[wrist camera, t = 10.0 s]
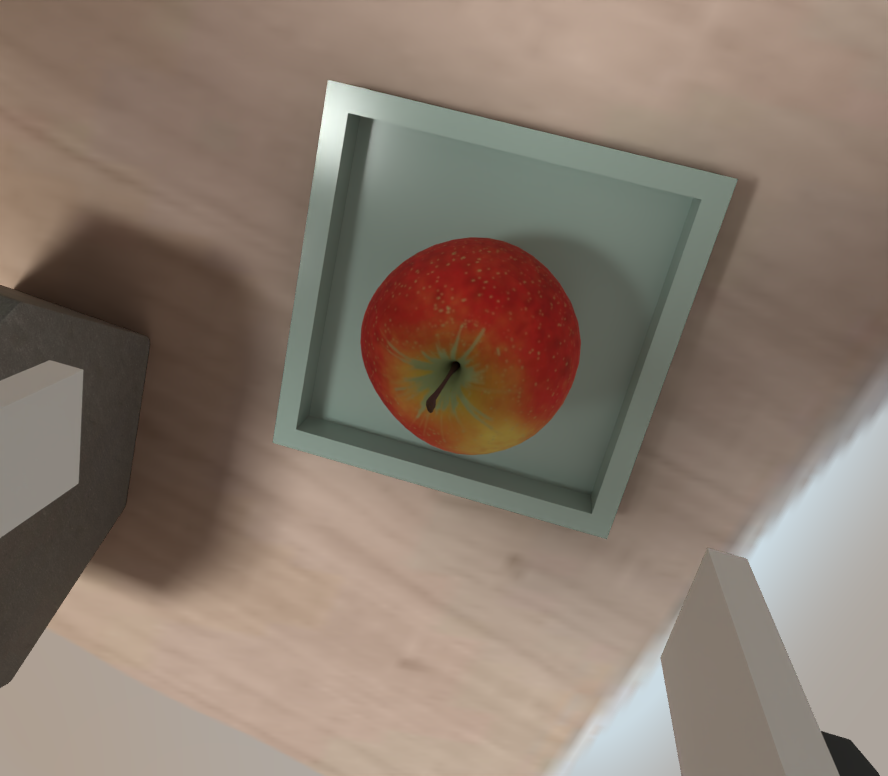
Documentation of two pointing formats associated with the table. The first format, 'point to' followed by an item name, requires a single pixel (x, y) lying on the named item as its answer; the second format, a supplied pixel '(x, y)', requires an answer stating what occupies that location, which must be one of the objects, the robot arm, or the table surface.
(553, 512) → the dish
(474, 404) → the apple
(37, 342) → the grey hexagonal block
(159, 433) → the table surface
